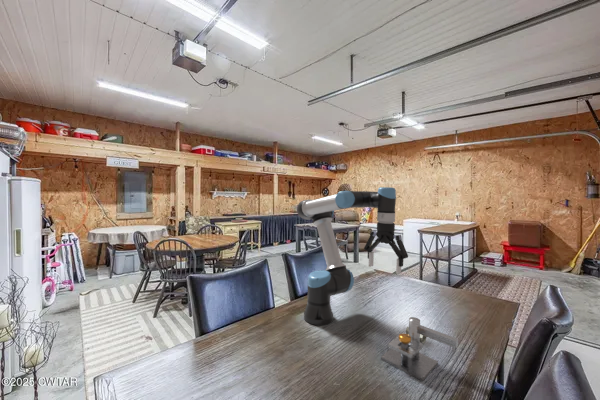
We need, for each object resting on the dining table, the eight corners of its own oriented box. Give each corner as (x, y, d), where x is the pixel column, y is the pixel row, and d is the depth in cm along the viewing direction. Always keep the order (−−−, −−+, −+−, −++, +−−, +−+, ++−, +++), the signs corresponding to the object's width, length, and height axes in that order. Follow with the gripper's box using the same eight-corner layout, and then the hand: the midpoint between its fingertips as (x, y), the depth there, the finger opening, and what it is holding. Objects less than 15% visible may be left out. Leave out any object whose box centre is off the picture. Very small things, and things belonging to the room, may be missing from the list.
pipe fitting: (416, 347, 110) (426, 341, 113) (416, 338, 109) (426, 333, 113) (400, 338, 117) (410, 333, 120) (400, 330, 116) (410, 325, 120)
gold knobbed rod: (396, 364, 96) (396, 336, 96) (401, 359, 99) (402, 332, 99) (407, 369, 93) (407, 340, 93) (412, 364, 96) (412, 336, 96)
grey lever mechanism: (379, 360, 100) (380, 321, 100) (398, 345, 110) (398, 310, 110) (443, 394, 83) (445, 348, 83) (459, 373, 93) (460, 332, 93)
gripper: (357, 219, 121) (356, 264, 122) (409, 226, 102) (407, 279, 103) (366, 218, 126) (365, 262, 127) (417, 224, 107) (415, 275, 108)
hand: (384, 269), depth 115 cm, fingers open, 13 cm apart
